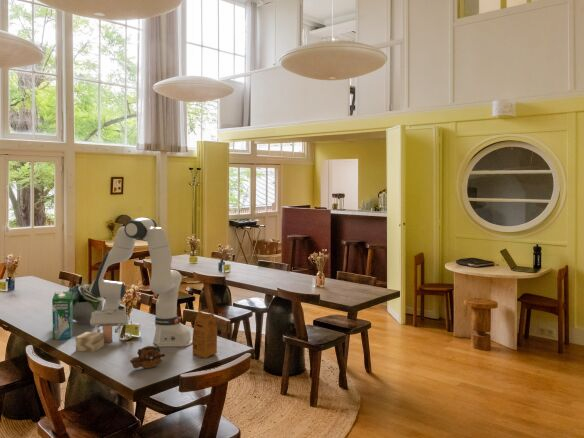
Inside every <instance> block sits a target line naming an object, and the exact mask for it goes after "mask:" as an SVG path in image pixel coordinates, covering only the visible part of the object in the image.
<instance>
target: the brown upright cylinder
mask: <svg viewBox="0 0 584 438" xmlns="http://www.w3.org/2000/svg"><path fill="white" fill-rule="evenodd" d="M102 333H104V344H111V343H113V326H112V325H104V326H102Z"/></svg>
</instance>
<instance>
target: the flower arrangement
mask: <svg viewBox="0 0 584 438" xmlns="http://www.w3.org/2000/svg"><path fill="white" fill-rule="evenodd" d="M91 285H92V283H90V284H87V283H84V284H79V285H75V286H74V285H73V286H72V287H69V289H68V290H67V291H66V292H71V291H72V305H73V321H75V322H76V323H77V324H79V325H88V324H90V319H91V314H92V312H94V311H96V310H97V311H99V310H103V308H104V305H103V304H104V303H103V301H104V300H105V297H94V296H93V295H92V294H91Z"/></svg>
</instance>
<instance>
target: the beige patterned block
mask: <svg viewBox="0 0 584 438" xmlns="http://www.w3.org/2000/svg"><path fill="white" fill-rule="evenodd" d="M104 346H105V343H104V333H103V332H100V333H99V332H97V331H95V332H94V331H84V332H83V333H81V334H79V335H77V336H75V351H76V352H77V351H78V352H90V351H91V353H94V352H96V351H97V350H99V349H101V348H102V347H104Z"/></svg>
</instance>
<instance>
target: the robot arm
mask: <svg viewBox="0 0 584 438" xmlns="http://www.w3.org/2000/svg"><path fill="white" fill-rule="evenodd" d="M116 231H117V232H116V234H115V237H114V240H113V245H112V248H111V249H110V250H109V251H107V252H106V253H105V254H104V255H103V258H102V261H101V262H100V266H99V268H98V270H97V272H96V275H95V278H94V279H93V281H92V283H91V284H92V285H91V294H92V295H93V296H94V297H103V298H104V299H105V302H104V303H103V304H104V305H103V309H102V310H99V311H97V310H96V311H94V312H92V314H91V319H90V323H89V325H90V326H91V327H95V328H96V332H99V333H101V329H100V327H103V326H104V325H112V327H116V328H115V329H114V333H115V334H117V333H119V330H121V328H122V327H127V326H128V325H129V315H127V314H126V308H127V307H126V306H124V305H121V302H122V298H123V297H124V295H125V296H126V291H127V286H126V285H124V284H125V283H124V282H122V281H118V280H117V281H116V280H108V279H104V276H105V274H106V272H107V270H108V267H109V266H111V265H113V264H118V263H123V262H126V261H127V260H129V259H130V258H131V257H132V256H133V254H134V250H135V243H136V241H137V240H145V241H146V243H147V246H148V252H149V257H150V261H151V263H150V264H151V278H150V281H149V288H150V290H151V292H152V293H154V294H155V295H158V297H157V300H156V302H155V316H154V323H155V324H154V325H155V330H154V331H155V332H154V338H153V341H152V342H153V344H155V345H156V346H157V347H159V348H160V347H161V348H162V347H167V348H168V347H170V348H171V347H188V346H191V345H193V344H192V338H193V336H192V335H191V331H190V328H188V327H187V326H186V325H184V324H182V323H181V320H182V316H178V315H177V314H178V313H177V310H178V307H177V305H178V297H179V291H180V287H181V286H180V285H181V283H182V279H183V277H182V274H181V273H180V272H179V271H178V270H175V269H171V268H172V261H173V258H172V252H171V248H170V247H171V246H170V243H169V238H168V235H167V232H166V231H165V229H164V228H162V227H160V226H158V223H157V222H156V220H155V219H154V218H151V217H137V218H132V219H130V220H128V221H127V222H126V223H125V224H124V226H123V225H122V226H121V227H119V228H117V230H116ZM124 325H126V326H124Z"/></svg>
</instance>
